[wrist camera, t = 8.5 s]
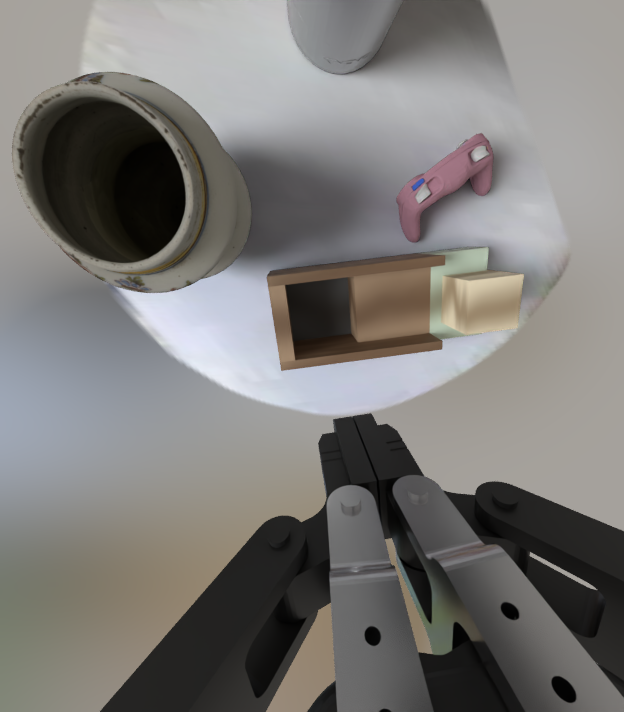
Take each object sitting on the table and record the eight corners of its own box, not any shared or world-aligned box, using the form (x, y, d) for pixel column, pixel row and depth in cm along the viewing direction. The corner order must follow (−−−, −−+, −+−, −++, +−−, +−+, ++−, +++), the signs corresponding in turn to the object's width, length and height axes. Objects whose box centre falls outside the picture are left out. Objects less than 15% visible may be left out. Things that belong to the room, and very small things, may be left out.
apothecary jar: (207, 297, 35) (133, 346, 18) (111, 214, 31) (-91, 178, 15) (280, 215, 33) (275, 182, 16) (187, 115, 29) (51, -63, 12)
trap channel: (270, 270, 34) (266, 276, 28) (467, 247, 35) (508, 247, 29) (282, 348, 38) (281, 370, 31) (462, 325, 38) (499, 341, 32)
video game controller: (463, 162, 34) (488, 110, 27) (489, 194, 33) (520, 149, 26) (386, 217, 35) (390, 180, 28) (409, 249, 34) (419, 219, 28)
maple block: (442, 275, 32) (469, 281, 27) (489, 269, 32) (523, 274, 28) (441, 322, 34) (466, 334, 29) (485, 316, 34) (517, 328, 29)
